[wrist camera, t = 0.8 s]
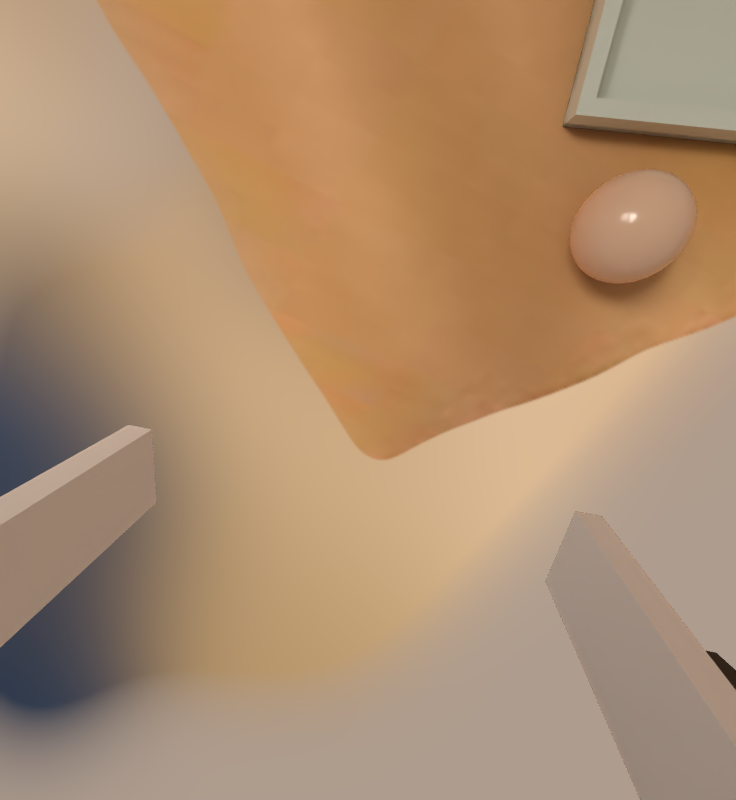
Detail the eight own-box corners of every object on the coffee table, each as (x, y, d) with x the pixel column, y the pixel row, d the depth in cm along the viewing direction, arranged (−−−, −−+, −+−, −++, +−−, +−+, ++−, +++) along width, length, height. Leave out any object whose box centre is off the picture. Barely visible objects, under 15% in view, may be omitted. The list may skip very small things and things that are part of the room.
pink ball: (570, 176, 27) (621, 148, 21) (668, 187, 27) (752, 162, 20) (543, 275, 30) (581, 278, 23) (632, 286, 29) (696, 292, 23)
